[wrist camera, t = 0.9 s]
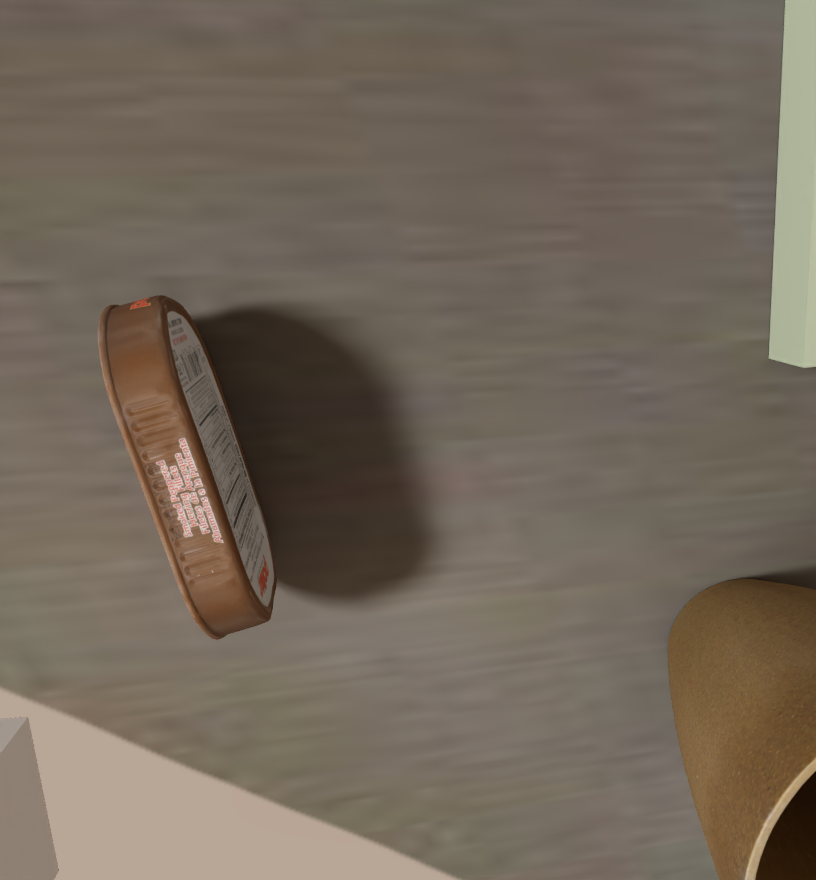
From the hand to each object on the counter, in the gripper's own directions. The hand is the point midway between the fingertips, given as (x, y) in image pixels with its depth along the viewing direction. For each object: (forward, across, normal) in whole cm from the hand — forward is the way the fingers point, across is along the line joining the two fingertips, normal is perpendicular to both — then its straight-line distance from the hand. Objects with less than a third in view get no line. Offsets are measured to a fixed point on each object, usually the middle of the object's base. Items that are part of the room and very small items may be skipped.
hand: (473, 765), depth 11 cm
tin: (+26, -9, -1) cm, 27 cm away
